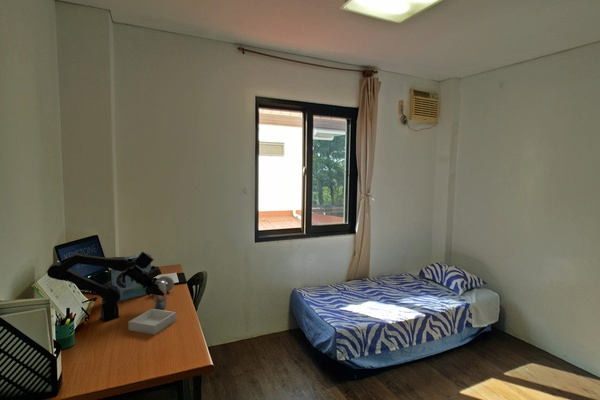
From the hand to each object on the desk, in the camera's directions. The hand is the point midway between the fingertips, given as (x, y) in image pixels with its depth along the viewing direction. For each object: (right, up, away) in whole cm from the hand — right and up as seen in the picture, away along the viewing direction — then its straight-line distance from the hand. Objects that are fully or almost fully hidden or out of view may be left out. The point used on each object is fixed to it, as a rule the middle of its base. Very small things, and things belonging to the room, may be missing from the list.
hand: (163, 293), depth 161 cm
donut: (-8, -6, +21) cm, 23 cm away
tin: (-1, -8, 0) cm, 8 cm away
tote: (+4, -9, -19) cm, 21 cm away
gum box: (-23, -7, +14) cm, 28 cm away
